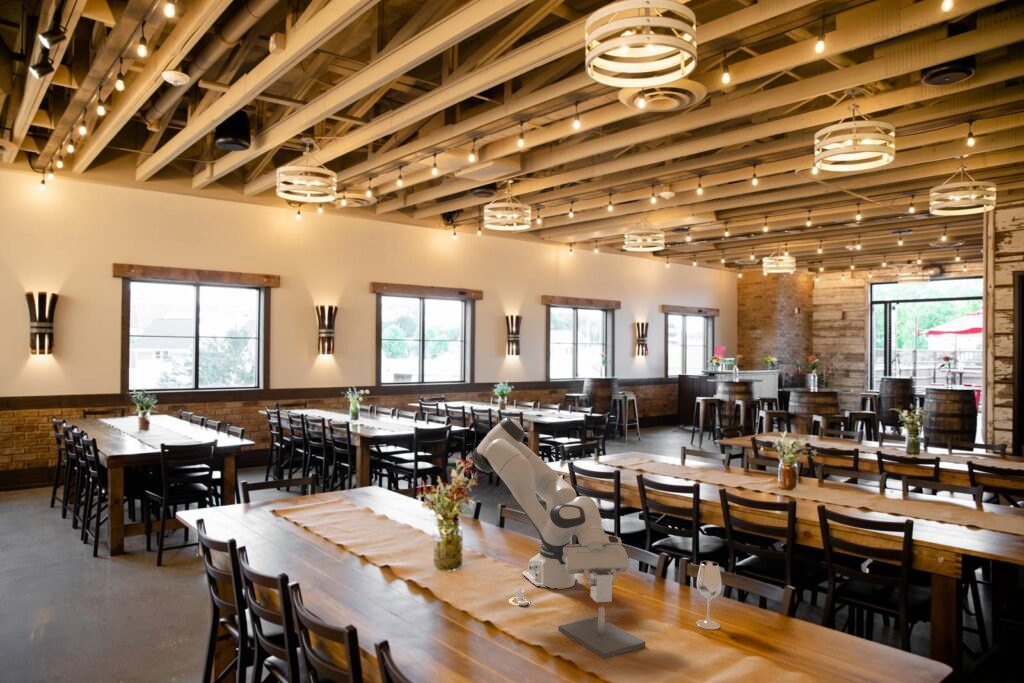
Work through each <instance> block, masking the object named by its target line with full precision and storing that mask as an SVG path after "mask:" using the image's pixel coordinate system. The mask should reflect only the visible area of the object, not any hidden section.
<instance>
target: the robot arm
mask: <svg viewBox="0 0 1024 683" xmlns="http://www.w3.org/2000/svg"><path fill="white" fill-rule="evenodd" d="M524 438H525V430H524V428H523V426H522V425H521V423H520V422H519V421H517V420H516V419H514V418H512V417H510V416H509V417H508V416H507V417H503V418H502V419H501V420H500V421H499V422H498V424H496V425H495V426H494V427H493V428H492V429H491V430H490V431H488V432H487V434H486V435H485V437H484V438H482V440H481V442H480V443H479V445H477V447H475V448H474V450H473V451H472V454H471V459H472V462H473V464H474V466H475V467H477V468H478V470H480V471H481V472H484V473H492V472H496V474H497V475H498V477H499V478H500V479H501V480H502V481H503V482H504V484H505V485H506V487H507V488H508V489H509V491H510V492H511V494H512V496H513V498H514V499H515V501H516V503H517V505H518V506H519V508H520V509H521V510H522V512H523V513H524V515H525V516H526V517H527V519H528V520H529V521H530V522H531V524H532V525H533V527H534V528H535V529H536V531H537V533H538V536H539V539H540V541H541V543H540V544H538V545H539V546H538V548H539V551H538V552H539V553H537V554H536V555H535V556H533V557H532V558H530V559H529V561H528V566H527V569H526V570H523V571H522V572H521V575H522V574H523V575H525V576H526V577H527V578H528V579H529V580H530V581H532V582H533V583H534V584H535V585H538V586H547V587H550V588H549V589H554V588H557V589H559V590H561V589H563V590H564V589H568V588H571V587H573V586H575V584H576V581H577V574H579V575H580V574H582V576H583V578H584V579H585V580H586V581H587V583H588V586H589V587H591V586H594V585H595V582H594V578H591V575H590V574H591V570H607V571H609V572H610V573H611V574H612V575H613V580H612V586H615V584H616V581H615V576H616V573H626V572H627V571H628V570H629V569H630V566H631V565H630V564H631V563H630V558H629V556H628V553H627V551H626V549H625V547H624V546H623V545H622V539H621V537H618V536H614V535H611V534H608V533H605V530H604V529H603V526H602V517H601V514H600V510H599V507H598V505H597V504H596V502H595V500H593V498H591V497H590V496H585V495H580V496H577V495H578V494H577V492H576V490H575V488H574V487H573V486H572V485H571V484H570V483H568V482H567V481H566V480H565V479H564V478H562V477H561V476H560V475H559V474H558V473H557V472H556V471H555V470H554V469H553V468H551V466H549V465H548V464H547V463H546V462H545V461H544V460H543V459H542V458H540V456H538V455H537V454H536V453H535V452H534V451H533V450H531V449H530V448H529V447H528V446H527V445H526V444H524V443H523V442H524V440H523V439H524ZM477 468H476V469H477ZM537 496H539V497H540V498H541V499H542V500H543V501H544V502H545V503H546V510H545V508H544V507H543V505H542V504H541V503H540V501H539V500H538V497H537ZM573 536H576V537H577V541H578V543H574V544H573ZM575 574H576V575H575ZM530 581H529V582H530ZM535 585H534V586H535ZM547 587H546V588H547Z"/></svg>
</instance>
